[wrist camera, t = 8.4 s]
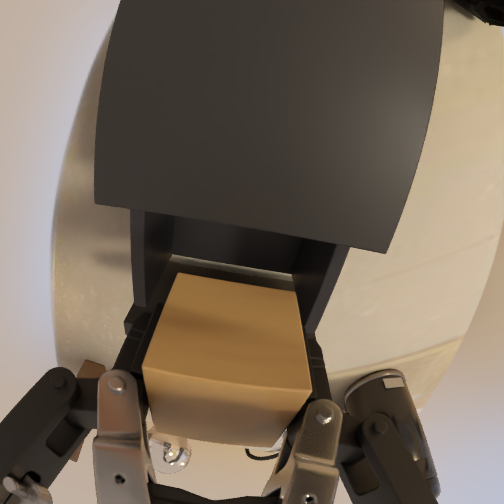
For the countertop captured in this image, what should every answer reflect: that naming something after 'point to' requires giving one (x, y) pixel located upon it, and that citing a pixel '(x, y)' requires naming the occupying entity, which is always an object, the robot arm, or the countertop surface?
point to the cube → (226, 362)
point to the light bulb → (168, 452)
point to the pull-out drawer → (229, 261)
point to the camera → (485, 10)
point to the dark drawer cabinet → (269, 112)
